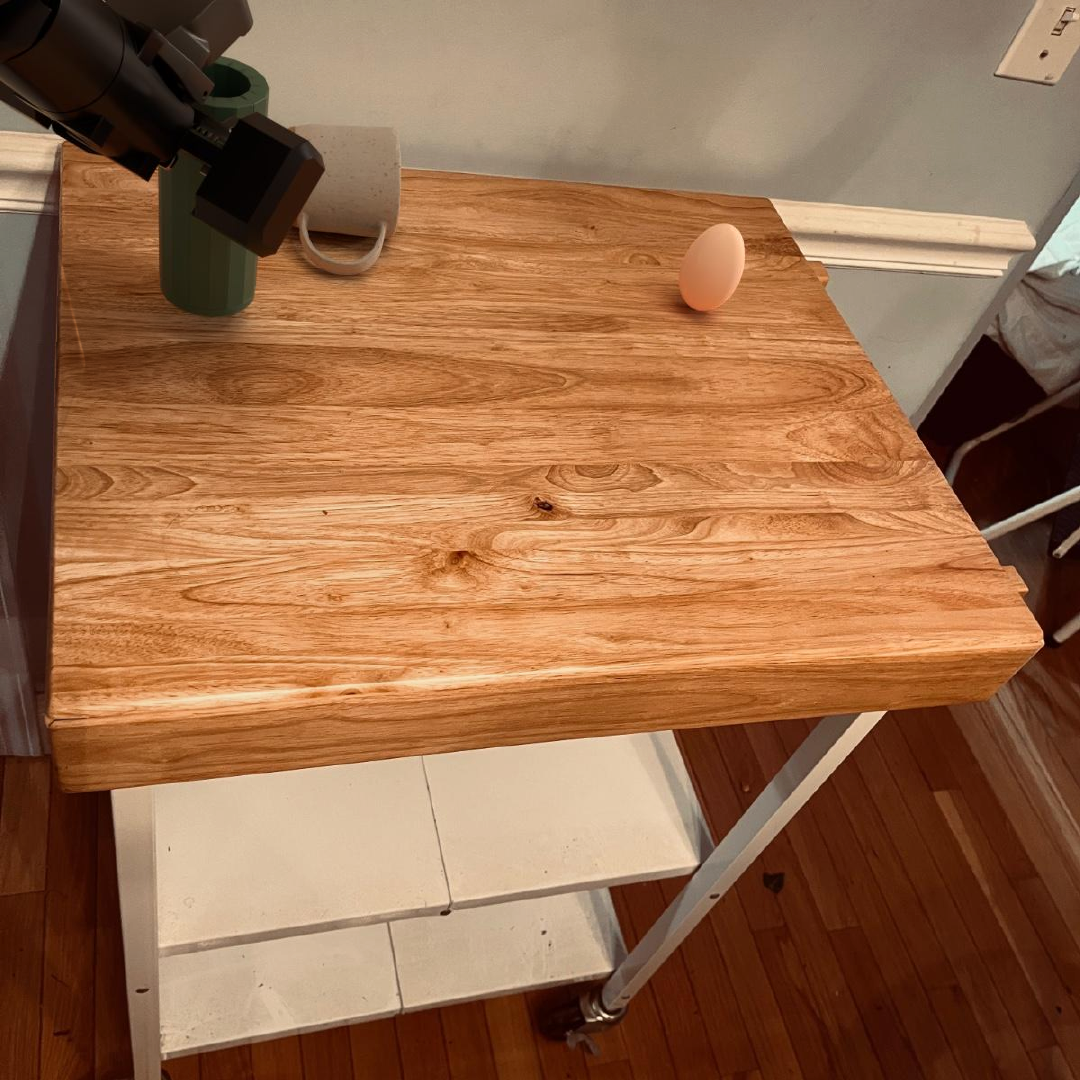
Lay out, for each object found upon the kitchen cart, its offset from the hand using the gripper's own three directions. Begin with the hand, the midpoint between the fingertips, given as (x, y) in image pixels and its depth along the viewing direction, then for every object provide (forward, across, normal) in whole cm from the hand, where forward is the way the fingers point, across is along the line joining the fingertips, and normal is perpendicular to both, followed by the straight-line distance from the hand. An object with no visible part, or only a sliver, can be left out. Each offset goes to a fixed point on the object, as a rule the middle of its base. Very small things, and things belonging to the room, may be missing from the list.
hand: (226, 185), depth 64 cm
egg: (+26, -24, -13) cm, 38 cm away
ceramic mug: (+16, 0, -2) cm, 16 cm away
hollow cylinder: (+4, 0, +6) cm, 7 cm away
